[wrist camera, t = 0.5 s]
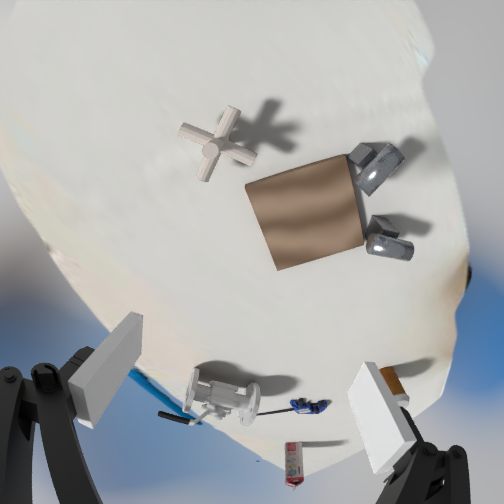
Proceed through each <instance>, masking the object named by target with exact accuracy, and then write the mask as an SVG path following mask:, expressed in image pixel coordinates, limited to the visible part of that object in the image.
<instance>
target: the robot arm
mask: <svg viewBox="0 0 504 504" xmlns="http://www.w3.org/2000/svg"><path fill="white" fill-rule="evenodd" d="M142 326H143V315H141V314H138V313H134V312H130V313H129V314H128V315H127V316H126V317H125V318H124V319H123V321H122V322H121V323H120V324H119V325H118V326H117V327H116V328H115V329H114V330H113V331H112V332H111V333H110V334H109V336H108V337H107V338H106V339H105V340H104V341H103V342H102V343H101V344H100V345H99V346H98V348H97V349H96V350H95V349H92V348H90V347H88V346H86V347H85V348H82V349H80V350H78V351H77V352H76V353H75V354H74V355H73V357H71V358H70V359H69V361H68V362H67V363H66V364H65V365H64V366H63V367H62V368H61V369H60V370H59V371H58V369H57V368H56V367H55V366H54V365H52V364H50V363H40V364H37V365H35V366H34V367H33V368H32V370H31V376H32V379H33V381H32V380H28V379H25V378H23V377H22V374H21V372H20V371H19V370H18V369H17V368H15V367H5V368H3V369H1V370H0V504H32V455H33V441H34V432H35V423H39V424H40V430H41V435H42V441H43V446H44V451H45V455H46V459H47V463H48V467H49V471H50V474H51V478H52V481H53V484H54V488H55V490H56V494H57V496H58V500H59V502H60V504H103V503H102V501H101V498H100V496H99V494H98V492H97V489H96V487H95V485H94V482H93V480H92V477H91V475H90V472H89V470H88V467H87V464H86V462H85V459H84V456H83V453H82V450H81V447H80V444H79V440H78V437H77V434H76V430H75V427H74V423H73V419H74V418H75V417H76V415H77V418H78V421H79V422H80V423H81V424H83V425H85V426H87V427H89V428H91V429H93V428H94V427H95V425H96V423H97V422H98V420H99V419H100V417H101V415H102V414H103V412H104V411H105V409H106V407H107V406H108V404H109V403H110V401H111V399H112V398H113V396H114V395H115V393H116V392H117V390H118V388H119V387H120V385H121V383H122V382H123V381H124V379H125V378H126V376H127V374H128V373H129V371H130V370H131V368H132V367H133V365H134V364H135V362H136V361H137V359H138V358H139V356H140V355H141V348H142ZM347 397H348V400H349V402H350V405H351V408H352V411H353V414H354V416H355V419H356V422H357V425H358V428H359V431H360V434H361V437H362V439H363V442H364V445H365V448H366V451H367V454H368V457H369V460H370V464H371V466H372V470H373V473H374V474H380V473H386V472H387V471H388V470H390V469H391V467H393V468H394V470H395V471H394V472H393V473H392V474H391V475H390V476H389V477H388V478H386V479H385V480H384V483H385V482H386V481H387V480H388V482H387V484H386V486H385V487H384V489H383V491H382V493H381V495H380V497H379V498H378V500H377V502H376V504H471V500H470V482H469V469H468V462H467V461H468V460H467V454H466V451H465V450H464V448H462V447H461V446H458V445H453V446H452V447H451V448H450V449H449V450H448V451H438V449H437V447H436V446H435V445H433V444H432V443H429V442H424V440H423V438H422V436H421V434H420V433H419V431H418V429H417V427H416V425H414V421H413V420H412V418H411V416H410V414H409V412H408V411H407V410H406V409H405V408H404V407H403V406H400V407H399V405H398V403H397V402H396V400H395V398H394V396H393V394H392V392H391V391H390V389H389V387H388V385H387V384H386V382H385V380H384V378H383V376H382V375H381V373H380V371H379V369H378V368H377V366H376V364H375V363H374V362H364V363H363V365H362V367H361V369H360V371H359V373H358V374H357V376H356V378H355V380H354V382H353V384H352V386H351V387H350V389H349V391H348V393H347ZM443 480H444V485H443Z"/></svg>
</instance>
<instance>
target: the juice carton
mask: <svg viewBox="0 0 504 504" xmlns="http://www.w3.org/2000/svg"><path fill="white" fill-rule="evenodd" d="M285 472H286V474H285V475H286V485H288V486H291V487H294V489H295V487H296V486H298V485H300V484H301V483H302V482H303V481H304V475H303V455H302V442H288V443H285Z"/></svg>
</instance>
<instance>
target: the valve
mask: <svg viewBox="0 0 504 504" xmlns="http://www.w3.org/2000/svg"><path fill="white" fill-rule="evenodd" d="M198 378H199V369H197V368H194V369H193V371H192V373H191V376H190V379H189V382H188V386H187V390H186V394H185V398H184V403H183V412H185V413H188V412H189V410H190V408H191V405H192V402H193V400H196V401H199V402H203V403H206V404H203V405H202V408H203V409H205V410H206V412H204V413H203V414H202V415H201V416H199V417H198V418H197V419H195V420H191V419H187V418H184V417H180V416H176V415H173V414H169V413H166V412H163V411H159V412H158V416H160V417H162V418H166V419H169V420H172V421H176V422H180V423H184V424H187V425H195V424H196V423H197V422H199V421H200V420H201V419H202V418H204V417H205V416H206V415H211V416H214V419H216V420H222V417H225V415H230V414H231V409H233V410H238V411H240V423H241V425H243V426H250V425H251V424H252V423H253V421H254V420H255V417H256V415H257V412H258V409H259V404H260V386H259V385H258V384H257V383H252V382H251V383H250V384H249V385H248V386H247V388H246V390H245V392H244V395H242V394H237V393H235V392H237V391H238V387H237V386H235V385H231V384H227V383H223V382H219V381H215V380H214V381H212V380H211V381H209V384H210V386H211V387H208V386H204V385H201V384H197V383H198Z"/></svg>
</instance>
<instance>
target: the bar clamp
mask: <svg viewBox="0 0 504 504" xmlns="http://www.w3.org/2000/svg"><path fill="white" fill-rule="evenodd" d="M298 402H299V403H298V405H297V404H296V402H295V401H292V400H291V401H290V404H291V406H292V407H294V409H288V410H281V411H275V412H267V413H259V414H257V415H256V416H258V415H266V414H274V413H281V412H287V411H293V410H295V411H296V412H297V413H298V414H319V413H320V412H322V411H324V410H325V409H326V408H327V403H326V401H325V400H321V401H318V404H313V405H311V404H310V403H309V402H307V403H304V404H303V398H301V399H298ZM305 405H306V406H305Z"/></svg>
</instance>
